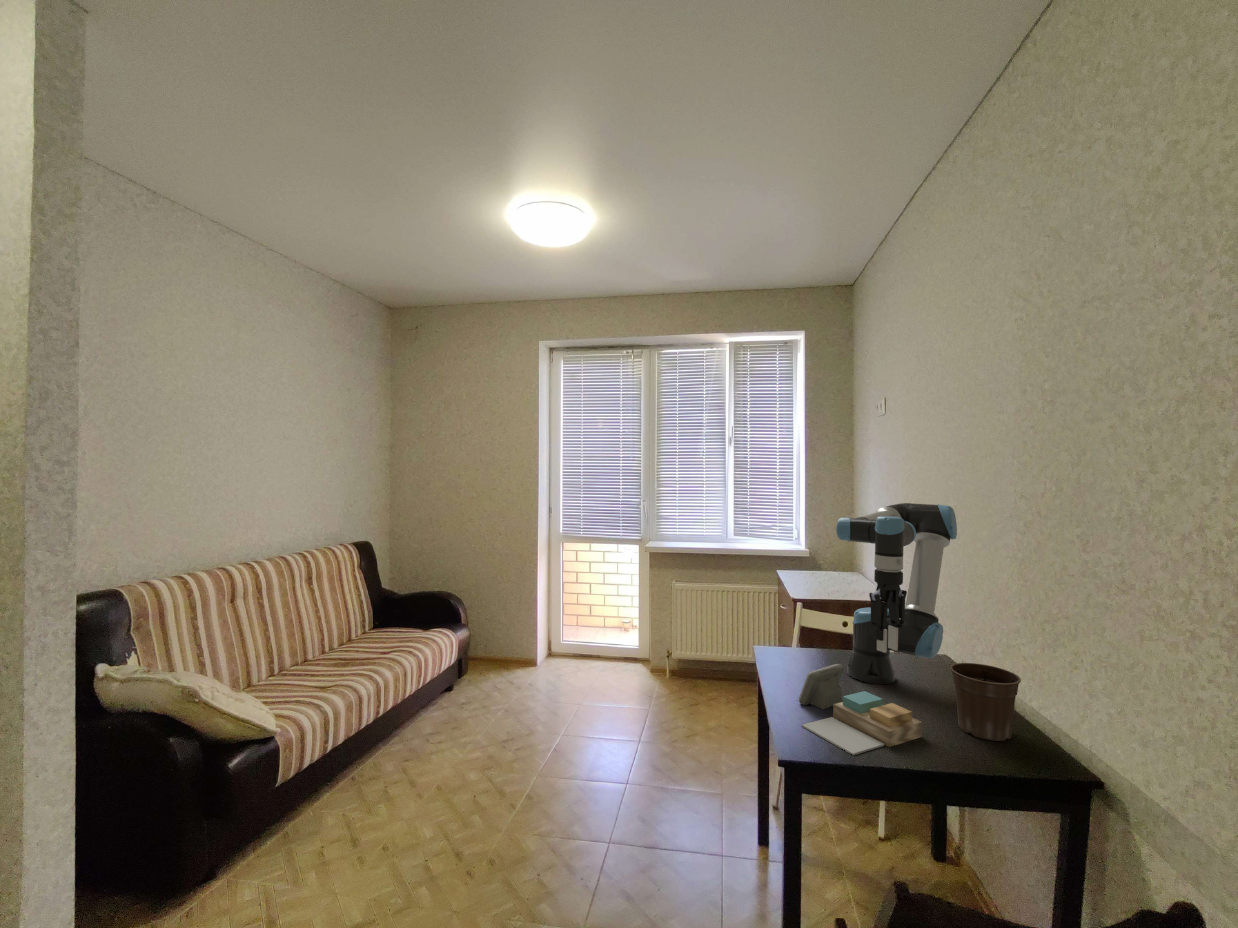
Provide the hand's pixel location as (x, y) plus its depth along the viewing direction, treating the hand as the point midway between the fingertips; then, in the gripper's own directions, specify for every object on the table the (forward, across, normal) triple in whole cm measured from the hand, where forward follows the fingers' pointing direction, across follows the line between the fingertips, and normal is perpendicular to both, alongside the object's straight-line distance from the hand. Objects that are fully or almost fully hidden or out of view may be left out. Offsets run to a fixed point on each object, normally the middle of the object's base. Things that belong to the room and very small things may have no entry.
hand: (887, 649), depth 163 cm
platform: (+19, -10, -4) cm, 22 cm away
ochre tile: (+15, -10, -9) cm, 20 cm away
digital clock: (+19, -10, +15) cm, 26 cm away
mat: (+19, -23, -4) cm, 30 cm away
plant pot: (+19, +16, -18) cm, 31 cm away
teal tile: (+15, -10, 0) cm, 18 cm away
